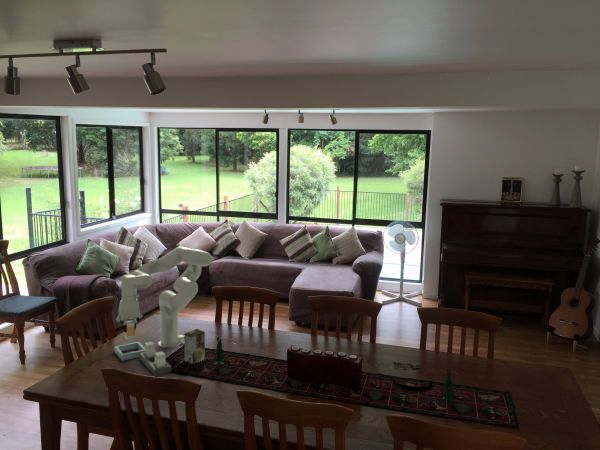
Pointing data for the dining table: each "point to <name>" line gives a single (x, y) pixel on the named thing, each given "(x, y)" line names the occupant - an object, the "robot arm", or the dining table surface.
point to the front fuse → (159, 359)
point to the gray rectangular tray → (151, 364)
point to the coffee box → (194, 346)
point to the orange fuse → (130, 330)
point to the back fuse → (149, 349)
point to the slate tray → (127, 347)
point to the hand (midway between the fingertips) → (129, 330)
